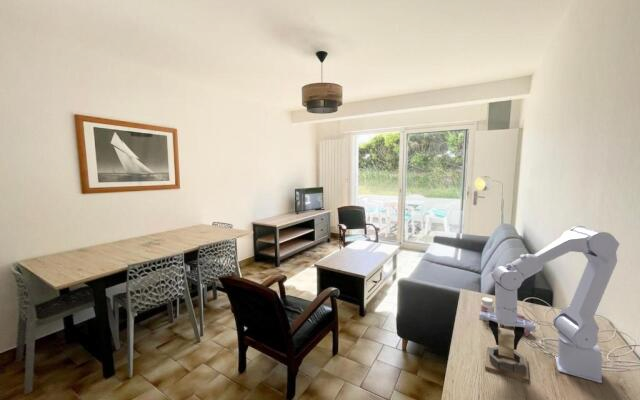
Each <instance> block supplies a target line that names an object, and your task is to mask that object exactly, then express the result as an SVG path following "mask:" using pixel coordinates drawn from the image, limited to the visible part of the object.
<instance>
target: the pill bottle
mask: <svg viewBox="0 0 640 400" xmlns="http://www.w3.org/2000/svg"><path fill="white" fill-rule="evenodd" d="M480 312H486V313H495V305H494V300H493V299H492V298H490V297H486V296H484V297H482V298H481V302H480ZM485 321H486V322H489V321H488V320H485Z"/></svg>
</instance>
